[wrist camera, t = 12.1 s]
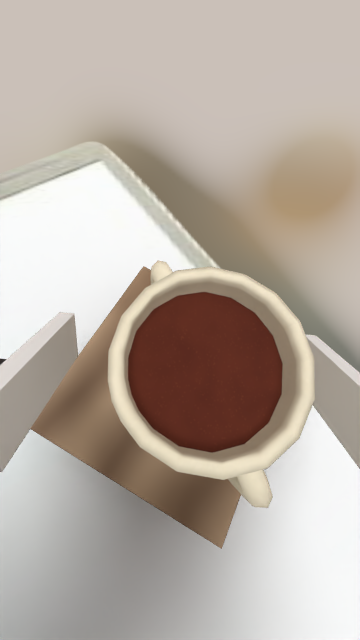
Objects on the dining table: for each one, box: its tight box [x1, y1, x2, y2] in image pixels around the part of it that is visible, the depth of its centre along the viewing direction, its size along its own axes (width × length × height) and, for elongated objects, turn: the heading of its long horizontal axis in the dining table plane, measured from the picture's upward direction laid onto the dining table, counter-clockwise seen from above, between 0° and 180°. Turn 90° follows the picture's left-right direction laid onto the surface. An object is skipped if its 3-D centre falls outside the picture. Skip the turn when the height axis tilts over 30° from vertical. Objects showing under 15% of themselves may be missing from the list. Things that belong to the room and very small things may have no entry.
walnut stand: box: [31, 266, 241, 549], centre depth 22 cm, size 17×17×5 cm
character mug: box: [108, 261, 315, 508], centre depth 14 cm, size 11×7×13 cm, turn 23°
